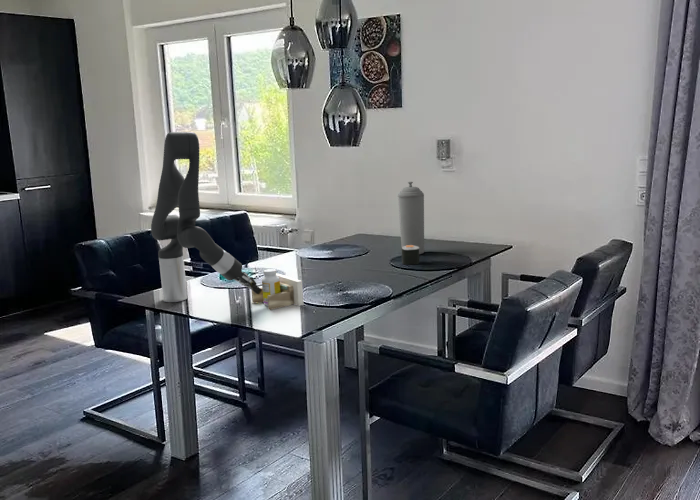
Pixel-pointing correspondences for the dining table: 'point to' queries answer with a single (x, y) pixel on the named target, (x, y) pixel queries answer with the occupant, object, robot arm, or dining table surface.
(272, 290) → the supplement bottle
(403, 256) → the sushi
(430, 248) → the dining table surface
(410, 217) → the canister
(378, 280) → the dining table surface
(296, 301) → the backstop board
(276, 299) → the cradle
